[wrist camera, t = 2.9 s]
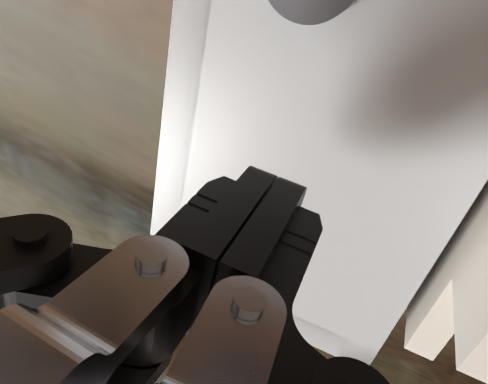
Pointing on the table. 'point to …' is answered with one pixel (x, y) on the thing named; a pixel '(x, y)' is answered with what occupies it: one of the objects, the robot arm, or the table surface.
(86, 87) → the table surface
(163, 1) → the table surface
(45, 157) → the table surface
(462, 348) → the side door
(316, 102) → the camera housing
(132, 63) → the table surface
